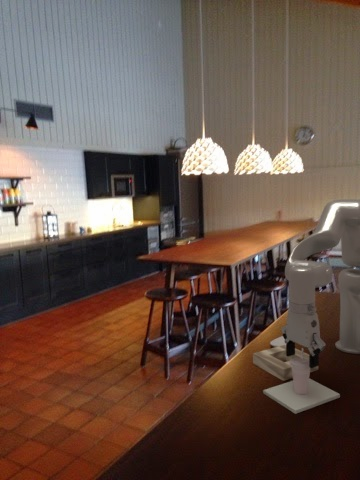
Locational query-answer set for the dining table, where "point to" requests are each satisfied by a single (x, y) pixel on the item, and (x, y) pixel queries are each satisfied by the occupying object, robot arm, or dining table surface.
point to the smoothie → (300, 374)
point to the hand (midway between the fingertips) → (301, 360)
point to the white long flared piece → (278, 342)
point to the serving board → (301, 396)
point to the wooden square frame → (278, 361)
